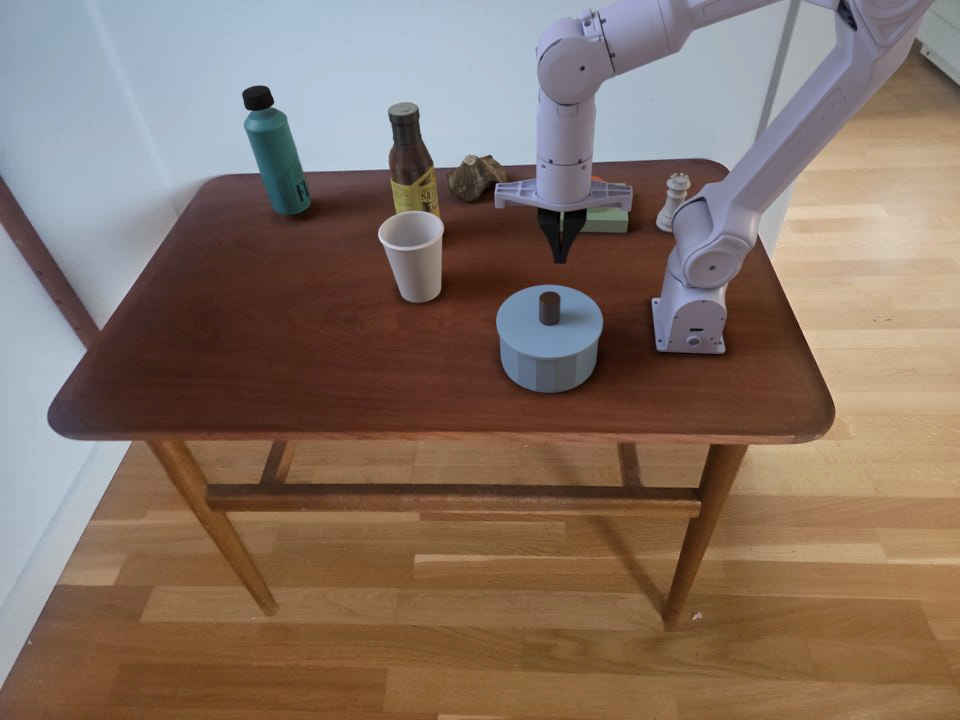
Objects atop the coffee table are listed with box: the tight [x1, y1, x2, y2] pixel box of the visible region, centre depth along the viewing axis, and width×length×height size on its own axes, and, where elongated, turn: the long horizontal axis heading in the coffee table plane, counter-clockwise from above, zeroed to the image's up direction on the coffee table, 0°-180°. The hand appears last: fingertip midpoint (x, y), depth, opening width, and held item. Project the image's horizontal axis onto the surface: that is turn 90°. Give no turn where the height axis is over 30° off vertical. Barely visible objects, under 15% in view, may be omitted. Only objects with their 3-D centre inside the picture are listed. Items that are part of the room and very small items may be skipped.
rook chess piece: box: [655, 172, 692, 234], centre depth 93 cm, size 4×4×8 cm
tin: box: [499, 336, 599, 394], centre depth 77 cm, size 11×11×6 cm
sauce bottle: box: [387, 101, 441, 220], centre depth 90 cm, size 6×6×20 cm
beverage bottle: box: [241, 84, 312, 216], centre depth 97 cm, size 6×7×20 cm
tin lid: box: [495, 284, 604, 360], centre depth 73 cm, size 12×12×4 cm
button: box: [591, 175, 604, 182], centre depth 96 cm, size 4×4×2 cm
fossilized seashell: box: [445, 154, 508, 202], centre depth 103 cm, size 8×7×10 cm
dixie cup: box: [377, 211, 445, 304], centre depth 85 cm, size 8×8×10 cm
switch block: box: [560, 180, 629, 234], centre depth 98 cm, size 10×11×4 cm
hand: (560, 258), depth 75 cm, fingers closed
